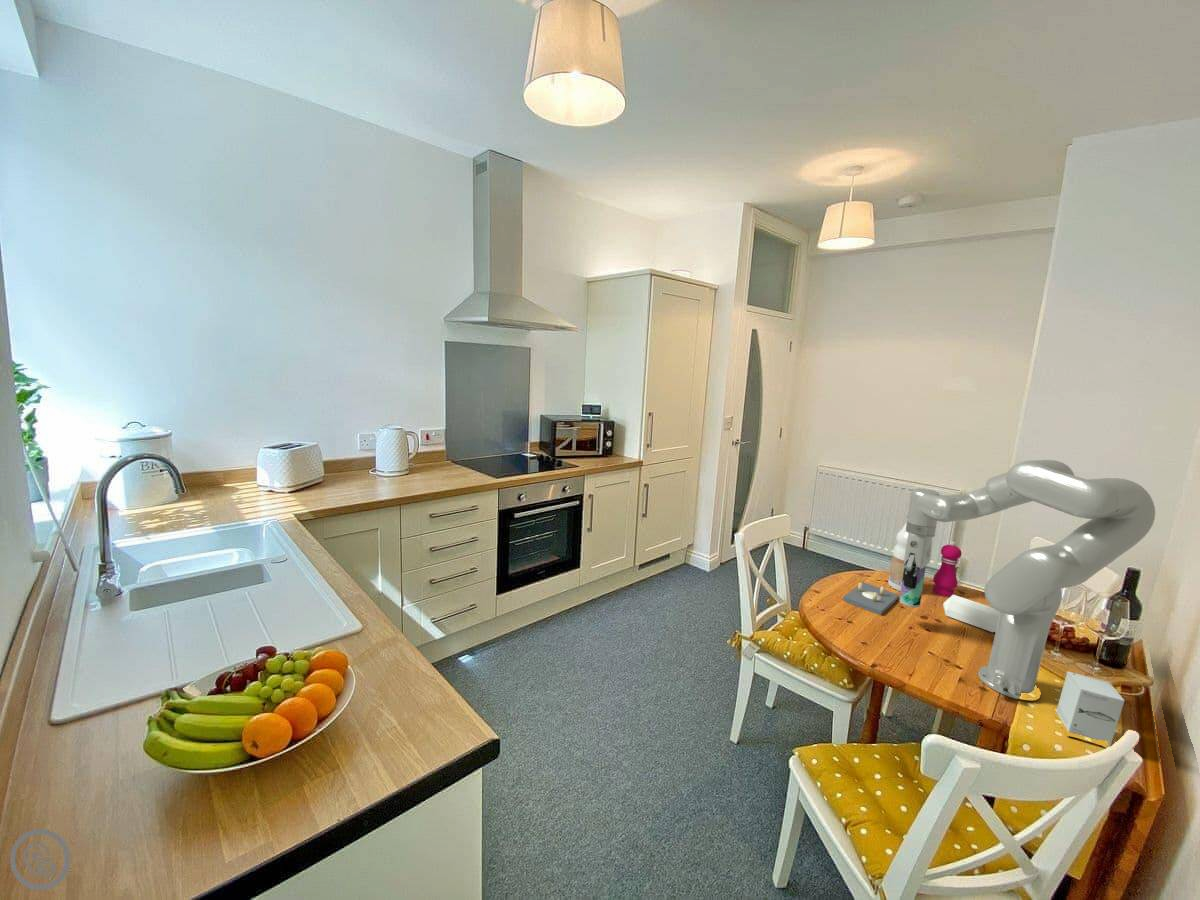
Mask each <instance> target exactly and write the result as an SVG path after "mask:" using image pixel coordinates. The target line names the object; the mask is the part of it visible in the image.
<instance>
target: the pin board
mask: <svg viewBox="0 0 1200 900" xmlns="http://www.w3.org/2000/svg"><path fill="white" fill-rule="evenodd" d="M898 598H899V599H900V594H899V593H895V592H893V591H889V590H887V589H886V588H885V586H883V585H881V586H880V587H878V586H876V585H873V584H870V583H867V582H864V581H862V582H858V585H857V586H855V587H854V588H853V589H852V590H850V591H849V592H848V593H846V594H845V595H844V596H843V598H842V601H843V602H845V603H848V604H851V605H853V606H856V607H857V608H860V609H862V610H863V609H864V610H866V611H869V612H871V613H874V614H876V615H878V614H879V616H882V615H883V614H884V613H886V611H887V610H888V609H890V608H891V606H892V605H894V603H896V602H897V601H898V600H899V599H898ZM897 599H898V600H897ZM896 600H897V601H896ZM895 601H896V602H895Z"/></svg>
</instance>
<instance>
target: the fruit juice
mask: <svg viewBox="0 0 1200 900" xmlns="http://www.w3.org/2000/svg"><path fill="white" fill-rule="evenodd" d="M907 517H908V514H907V515H906V518H907ZM906 524H907V521H906V522H905V524H904V525H903V526H902V528H901V529H900V530H899V531H898V532H897V534H896V537H895V540H896V544H895V546H894V548H893V551H892V557H891V562H890V568H889V574H888V580H887V584H888V586H889V585H890V586H891V587H890V586H889V587H890V588H892V589H893V588H894V590H895V589H896V590H895V591H898V592H901V587H902V579H903V572H904V565H905V563H904V557H905V550H906V545H907V539H908V535H909V533H907V532H906Z"/></svg>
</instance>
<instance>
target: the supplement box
mask: <svg viewBox="0 0 1200 900" xmlns="http://www.w3.org/2000/svg"><path fill="white" fill-rule="evenodd" d="M1124 704H1125V699H1124V698H1123V697H1122V695H1121V694H1120V693H1119V692H1118V690H1117V689H1116V688H1115V687H1114V686H1113V684H1111V682H1110V681H1106V680H1103V679H1099V678H1096V677H1095V678H1094V677H1093V676H1092V677H1091V676H1087V675H1083V674H1079V673H1076V672H1072V671H1068V670H1067V672H1066V676H1065V679H1064V682H1063V687H1062V689H1061V693H1060V697H1059V702H1058V704H1057V706H1056V707H1057V708H1056V711H1055V713H1056V712H1057V714H1058V716H1059V718H1060V719H1061V721H1062V723H1063V724H1064V726H1065V727H1066V729H1067V731H1068V732H1070V733H1073V734H1078V735H1082V736H1086V737H1089V738H1092V739H1096V740H1103V741H1105V740H1106V741H1109V742H1108V744H1109V745H1108V746H1110V747H1111V745H1112V742H1113V739H1114V736H1115V732H1116V729H1117V726H1118V722H1119V719H1120V717H1121V712H1122V710H1123V707H1124ZM1108 746H1106V747H1108ZM1106 747H1105V748H1104V749H1106Z"/></svg>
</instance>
